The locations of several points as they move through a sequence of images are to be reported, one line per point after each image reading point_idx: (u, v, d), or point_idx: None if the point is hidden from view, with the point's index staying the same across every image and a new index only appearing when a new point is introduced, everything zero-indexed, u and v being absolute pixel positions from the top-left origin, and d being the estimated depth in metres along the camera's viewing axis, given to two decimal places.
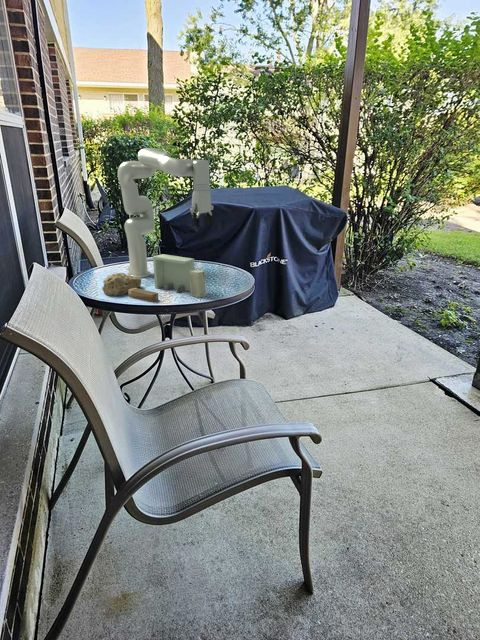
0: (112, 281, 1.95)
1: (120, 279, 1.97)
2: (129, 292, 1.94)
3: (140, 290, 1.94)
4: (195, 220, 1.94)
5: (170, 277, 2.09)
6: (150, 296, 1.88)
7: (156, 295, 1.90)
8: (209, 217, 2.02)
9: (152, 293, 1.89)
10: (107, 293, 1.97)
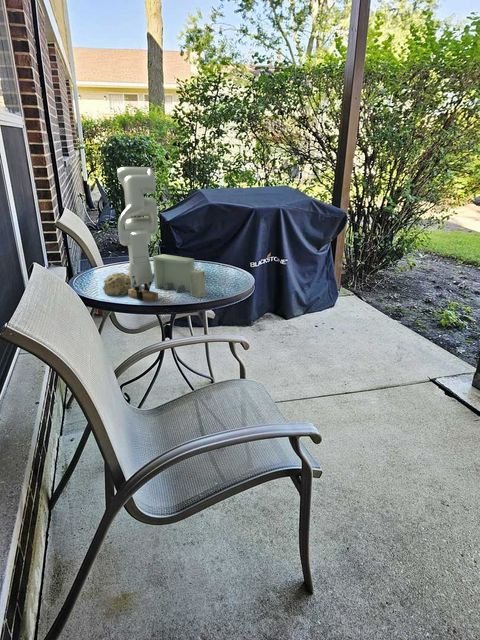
0: (113, 281, 1.95)
1: (121, 279, 1.98)
2: (129, 292, 1.94)
3: None
4: (138, 294, 1.90)
5: (170, 277, 2.09)
6: (150, 296, 1.88)
7: (156, 295, 1.90)
8: (147, 290, 1.94)
9: (152, 293, 1.89)
10: (108, 293, 1.97)
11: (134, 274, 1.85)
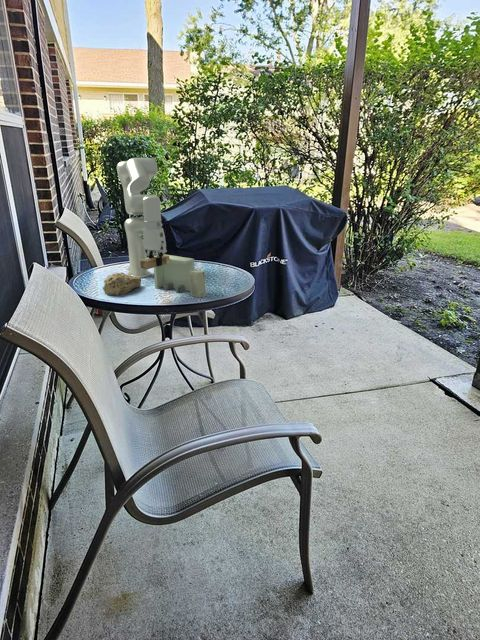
0: (113, 281, 1.95)
1: (121, 279, 1.98)
2: None
3: None
4: None
5: (170, 277, 2.09)
6: None
7: (144, 263, 1.85)
8: None
9: (145, 260, 1.86)
10: (108, 293, 1.97)
11: None
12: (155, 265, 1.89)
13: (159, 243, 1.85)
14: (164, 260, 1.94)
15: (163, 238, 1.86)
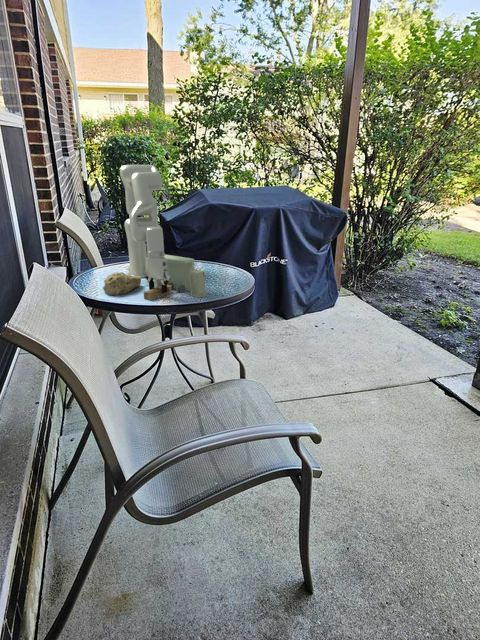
0: (114, 280, 1.95)
1: (121, 278, 1.98)
2: None
3: None
4: None
5: None
6: None
7: (148, 294, 1.90)
8: None
9: (149, 291, 1.92)
10: (108, 293, 1.98)
11: None
12: (158, 296, 1.95)
13: (162, 272, 1.90)
14: None
15: (166, 267, 1.91)
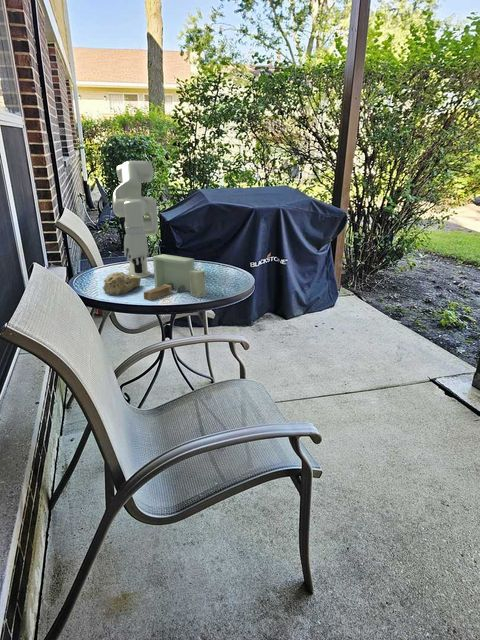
0: (114, 280, 1.96)
1: (121, 278, 1.99)
2: None
3: (161, 287, 1.98)
4: (136, 267, 1.81)
5: (170, 277, 2.09)
6: None
7: (148, 294, 1.91)
8: None
9: (149, 291, 1.92)
10: (108, 292, 1.98)
11: (128, 246, 1.75)
12: (158, 296, 1.95)
13: None
14: (166, 290, 1.99)
15: None
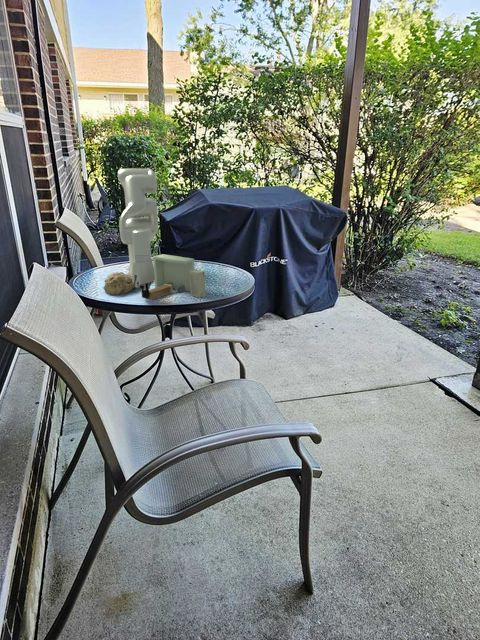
0: (114, 280, 1.96)
1: (122, 278, 1.99)
2: None
3: (162, 287, 1.99)
4: (143, 292, 1.88)
5: (170, 277, 2.09)
6: None
7: (149, 294, 1.91)
8: None
9: (150, 291, 1.92)
10: (109, 292, 1.98)
11: (136, 273, 1.82)
12: (159, 295, 1.95)
13: None
14: (168, 290, 2.00)
15: None
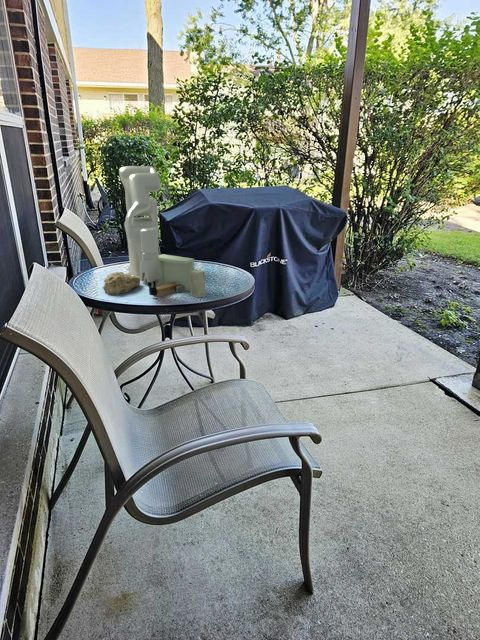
0: (114, 280, 1.96)
1: (121, 278, 1.99)
2: None
3: (169, 285, 2.02)
4: (151, 289, 1.92)
5: (170, 277, 2.09)
6: None
7: (157, 291, 1.95)
8: None
9: (157, 288, 1.96)
10: (109, 292, 1.98)
11: (144, 271, 1.86)
12: (166, 293, 1.99)
13: None
14: (175, 287, 2.04)
15: None
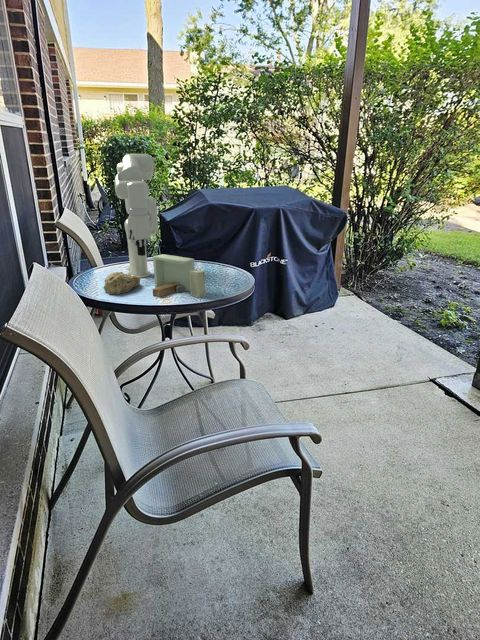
0: (115, 280, 1.97)
1: (122, 278, 2.00)
2: None
3: (169, 285, 2.02)
4: (139, 249, 1.81)
5: (170, 277, 2.09)
6: None
7: (157, 291, 1.95)
8: None
9: (157, 288, 1.96)
10: (109, 292, 1.99)
11: (132, 228, 1.74)
12: (166, 293, 1.99)
13: None
14: (175, 287, 2.04)
15: None
